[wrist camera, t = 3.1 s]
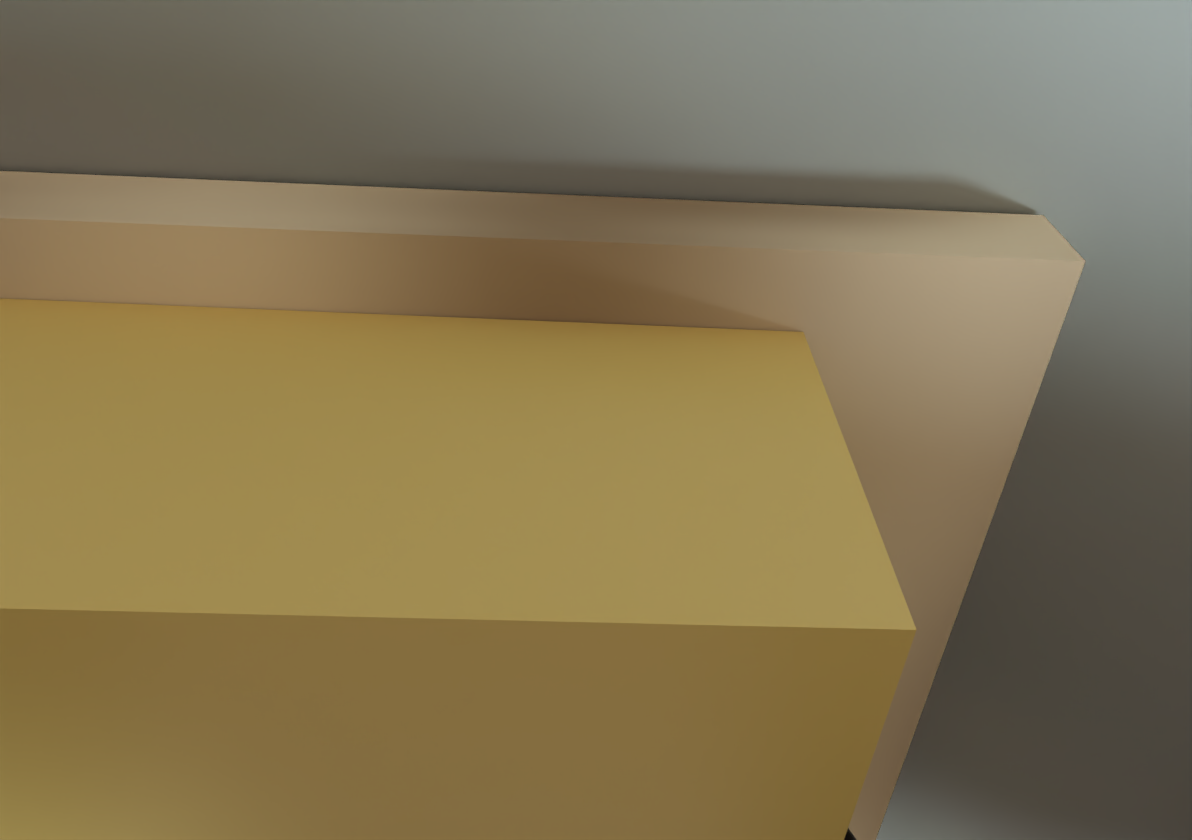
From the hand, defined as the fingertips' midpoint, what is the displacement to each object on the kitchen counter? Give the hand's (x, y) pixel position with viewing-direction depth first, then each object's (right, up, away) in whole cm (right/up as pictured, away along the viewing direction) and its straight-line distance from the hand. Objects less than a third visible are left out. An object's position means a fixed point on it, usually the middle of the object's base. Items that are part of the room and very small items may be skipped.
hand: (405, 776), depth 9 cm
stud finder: (0, +1, +1) cm, 1 cm away
